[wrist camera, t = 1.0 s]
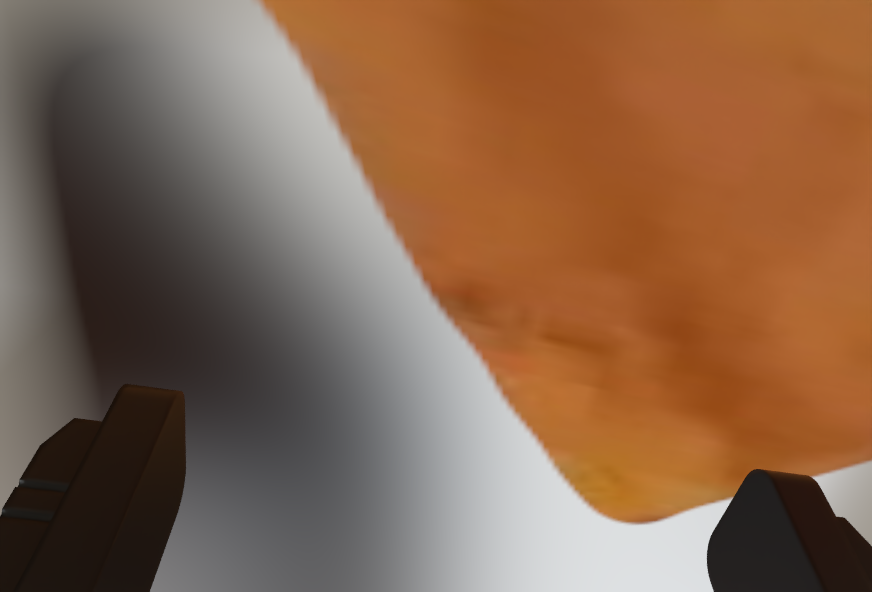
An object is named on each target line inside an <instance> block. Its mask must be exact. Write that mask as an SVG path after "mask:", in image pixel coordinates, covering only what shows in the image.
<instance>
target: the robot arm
mask: <svg viewBox="0 0 872 592" xmlns="http://www.w3.org/2000/svg"><path fill="white" fill-rule="evenodd" d="M185 474H186V446H185V399H184V394H183V392H182V391H176V390H168V389H161V388H153V387H146V386H138V385H130V384H125V385H123V386H122V387H121V388H120V390H119V391H118V393H117V394H116V396H115V398H114V400H113V402H112V404H111V406H110V408H109V410H108V412H107V413H106V415H105V417H104V419H103V421H102V422H101V421H94V420H85V419H78V418H74V419H73V420H71V421H70V422H69V423H68V424H66V425H65V426H64V427H63V428H61V429H60V430H59V431H58V432H56V433H55V434H54V435H53V436H52V437H50V438H49V439H48V440H46V441H45V442H44V443H43V444H41V445H40V447H39V448H38V450H37V451H36V454H35V455H34V457H33V458H32V460H31V462H30V463H29V465H28V467H27V468H26V470H25V472H24V473H23V475H22V477H21V478H20V481H19V485H18V487H15V488H14V490H13V492H12V493H11V495H10V497H9V498H8V500H7V502H6V503H5V505H4V507H3V509H2V514H1V516H0V592H150V589H151V586H152V583H153V581H154V578H155V575H156V572H157V569H158V567H159V564H160V561H161V558H162V555H163V553H164V549H165V547H166V544H167V541H168V539H169V536H170V533H171V530H172V527H173V525H174V522H175V519H176V516H177V513H178V510H179V506H180V502H181V498H182V494H183V488H184V482H185ZM707 567H708V573H709V578H710V581H711V584H712V587H713V590H714V592H872V546H871V545H870V544H869V543H868V542H867V541H866V540H865V539H864V538H863V537H862V536H861V535H860V534H859V533H858V531H857V530H856V529H855V528H854V527H853V526H852V525H851V524H850V523H849V522H848V521H847V520H846V519H845V518H843V517H836V516H835V514H834V512H833V510H832V508H831V506H830V505H829V503H828V501H827V499H826V497H825V495H824V493H823V492H822V490H821V488H820V486H819V485H818V483H817V482H816V481H815V480H814V479H813V478H811V477H809V476H807V475H799V474H792V473H784V472H776V471H769V470H761V469H756V470H753V471H751V472H750V473H749V474H748V475H747V476H746V478H745V479H744V481H743V483H742V484H741V486H740V488H739V489H738V491H737V493H736V494H735V496H734V498H733V499H732V501H731V503H730V504H729V506H728V508H727V510H726V511H725V513H724V515H723V516H722V518H721V520H720V521H719V523H718V524H717V526H716V528H715V530H714V531H713V533H712V535H711V538H710V540H709V544H708V550H707Z"/></svg>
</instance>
